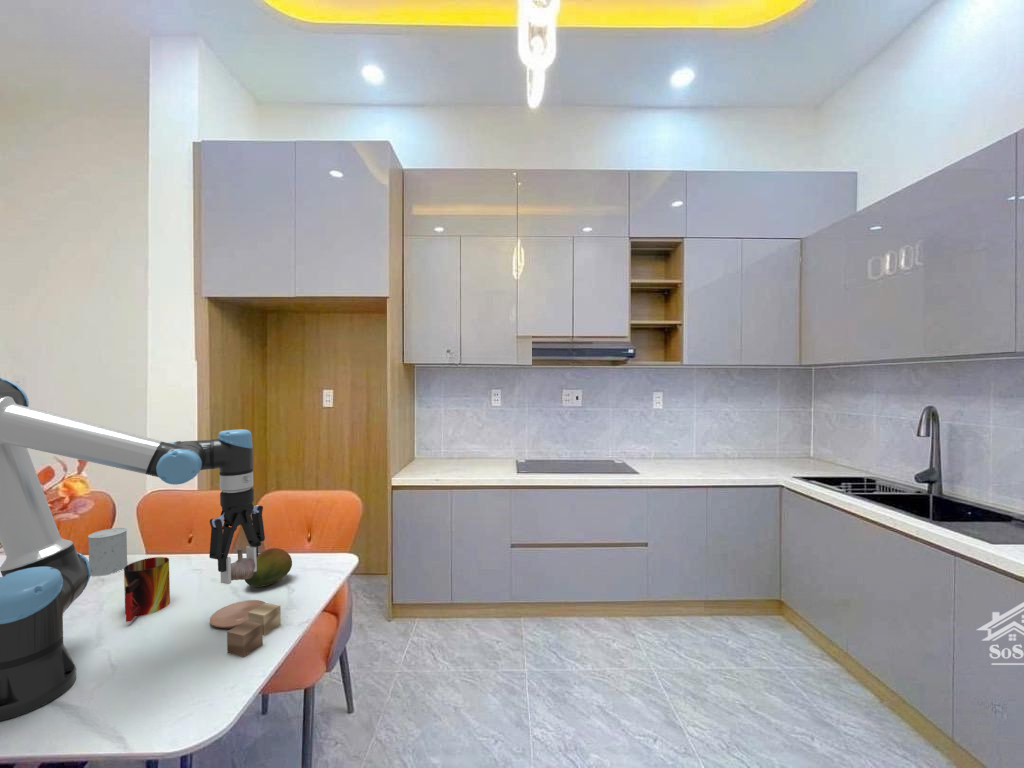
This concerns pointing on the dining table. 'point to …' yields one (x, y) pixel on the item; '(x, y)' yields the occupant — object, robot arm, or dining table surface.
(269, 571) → the fruit
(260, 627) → the walnut block
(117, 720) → the dining table surface
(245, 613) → the peach ellipsoid
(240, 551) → the garlic bulb
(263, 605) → the oak block
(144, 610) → the mug
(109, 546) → the grey concrete cylinder
